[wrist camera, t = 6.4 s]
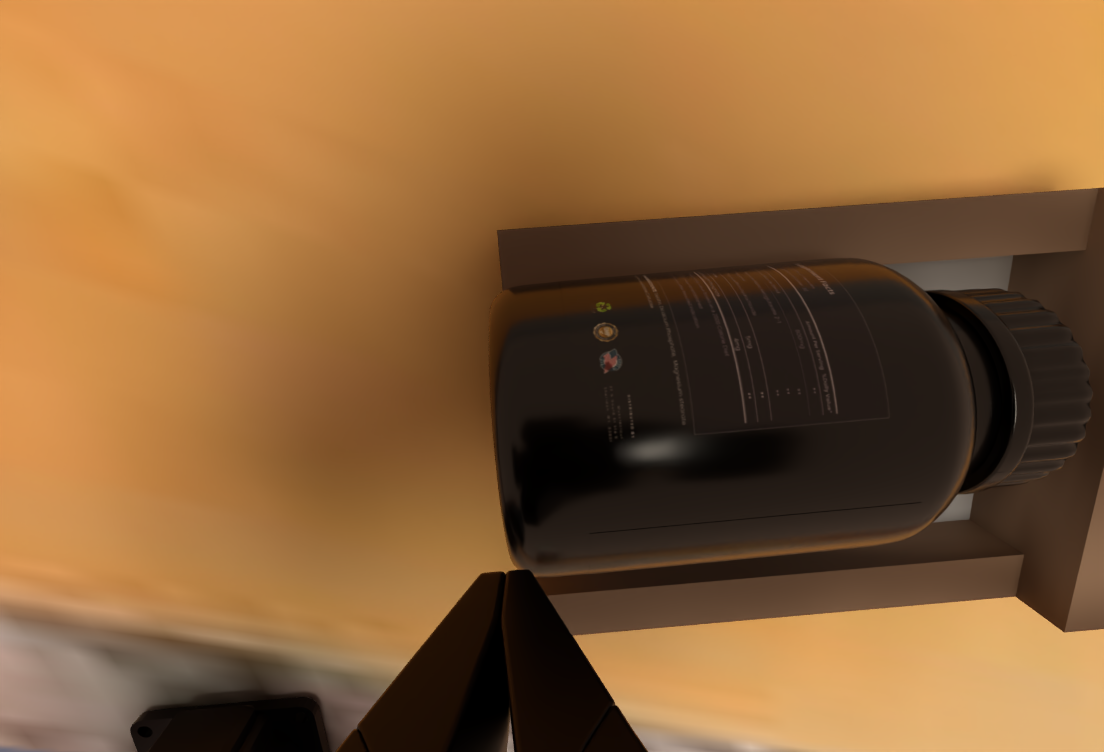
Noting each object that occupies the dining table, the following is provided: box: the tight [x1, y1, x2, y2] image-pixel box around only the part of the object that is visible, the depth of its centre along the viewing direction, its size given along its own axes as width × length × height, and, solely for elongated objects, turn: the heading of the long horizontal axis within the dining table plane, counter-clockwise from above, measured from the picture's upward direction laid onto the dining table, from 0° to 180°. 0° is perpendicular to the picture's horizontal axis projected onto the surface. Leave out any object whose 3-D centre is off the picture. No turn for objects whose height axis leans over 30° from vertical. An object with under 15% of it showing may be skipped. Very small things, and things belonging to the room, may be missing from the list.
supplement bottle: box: [489, 258, 1093, 578], centre depth 12 cm, size 7×7×12 cm
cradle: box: [497, 188, 1104, 635], centre depth 15 cm, size 12×16×4 cm
